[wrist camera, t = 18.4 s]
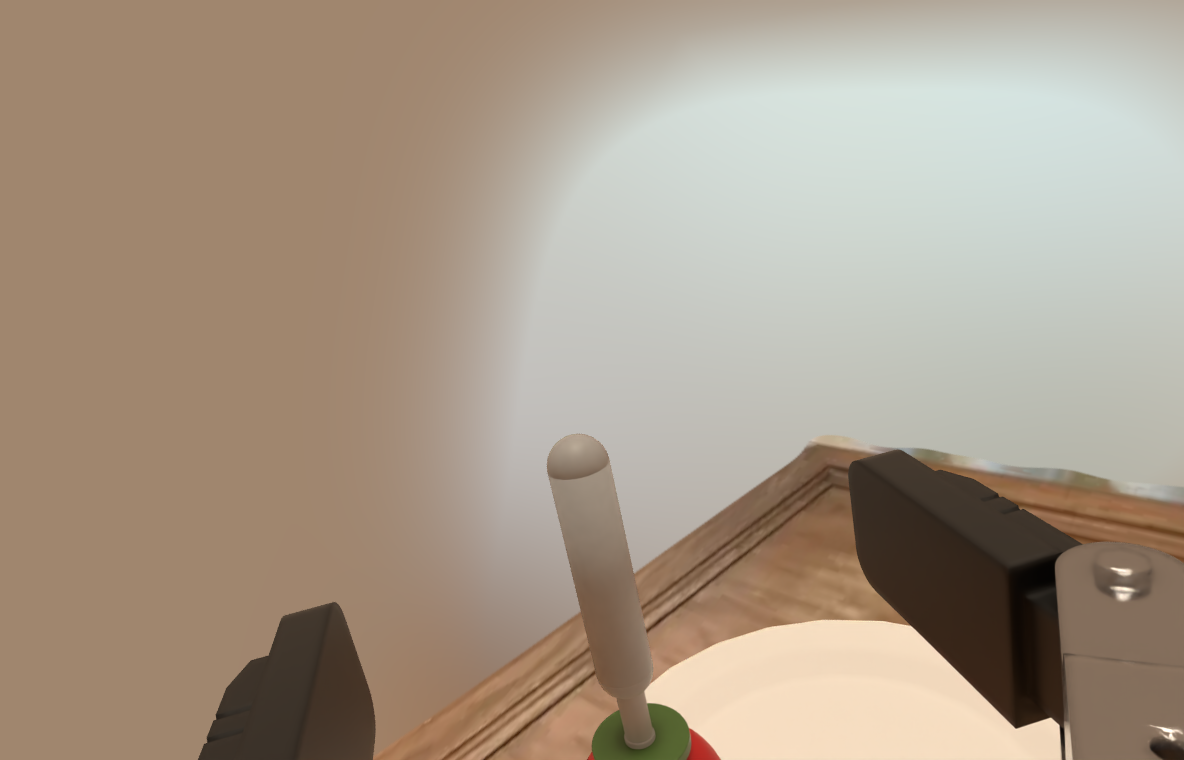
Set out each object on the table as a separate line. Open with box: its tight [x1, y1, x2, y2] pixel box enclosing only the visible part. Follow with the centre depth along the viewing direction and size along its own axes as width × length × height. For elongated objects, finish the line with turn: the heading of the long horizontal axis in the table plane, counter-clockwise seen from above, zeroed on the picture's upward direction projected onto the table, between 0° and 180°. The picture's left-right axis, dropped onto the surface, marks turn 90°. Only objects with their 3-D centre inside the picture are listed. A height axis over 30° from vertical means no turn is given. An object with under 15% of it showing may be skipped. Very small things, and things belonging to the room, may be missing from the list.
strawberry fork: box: [547, 434, 721, 760], centre depth 25 cm, size 5×5×16 cm
